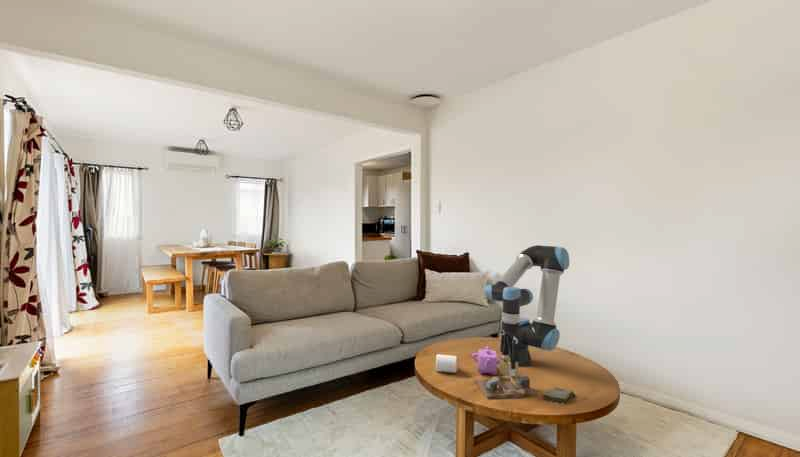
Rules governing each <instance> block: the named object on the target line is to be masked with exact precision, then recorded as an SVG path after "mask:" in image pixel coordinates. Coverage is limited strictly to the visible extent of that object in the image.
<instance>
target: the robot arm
mask: <svg viewBox="0 0 800 457" xmlns="http://www.w3.org/2000/svg"><path fill="white" fill-rule="evenodd" d="M533 267H540V271H541V273H542V276H541V284H540V289H539V290H540V292H539V298H538V305H537V311H536V317H535V318H534V319H532V322H530V318H527V317H520V315H521V314H520V310H521V308H520V307H523V306H527V305H529V304H531V303H532V302H533V301H534V300H533V299H534V295H533V292H532V291H531V290H530V289H529V288H519V287H515V285H516V284H517V283H518V281H520V279H521V278H522V277H523V275H524V274H525V273H526V272H527V270H531V269H532V268H533ZM569 267H570V256H569V251H568V250H567V248H565V247H562V246H557V245H556V246H553V245H552V246H551V245H538V244H537V245H533V246H530V247H528V248H526V249H523V250H522V251H521V252H520V253H519V254H518V255H517V256H516V258H515V261H514V262H513V263H512V265H510V267H509V268H507V270H506V271H505V272H504V273H503V274H502V276H500V278H499V279H498V280H497V281H496V282H495V284H492V283H491V284H490V283H489V284H486V286H485V287H484V296H485V298H486V299H488V300H491V301H496V302H500V303H502V312H501V320H502V321H501V331H500V350H499V351H500V352H501V356H502V358H509V357H510V360H509V376H511V377H516V376H515V365H516V362H518V367H525V366H529V365H531V364H532V356H531V353H530V350H529V346H530V347H533V348H537V349H541V350H543V351H549V352H551V351H553V350H555V348H556V347H557V346H558V344H559V341H560V335H561V334H560V330H559V329H558V328H557V324H556V322H555V317H556V316H555V314H556V308H557V301H558V293H559V287H560V286H559V284H560V279H561V276H562V275H563V274H564V272H565V271H566V270H569Z"/></svg>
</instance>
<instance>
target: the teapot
mask: <svg viewBox="0 0 800 457" xmlns="http://www.w3.org/2000/svg"><path fill="white" fill-rule="evenodd" d="M476 356H477V357H476ZM471 358H472V359H473V360H474V361H475V362H476V363H477V367H478V368H477V370H478V373H479V374H480V375H484V374H490V375H491V376H495V375H497V373H498V371H497V369H498V365H499V363H500V358H502V355H498V354H497V351H496V350H492V349H489V346H487V345H486V346H485V349H483V348H482V349H481V348H478V352H477V353H476V352H475V353H472V354H471ZM477 358H478V359H477ZM498 358H499V359H498Z"/></svg>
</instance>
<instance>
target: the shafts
mask: <svg viewBox="0 0 800 457" xmlns="http://www.w3.org/2000/svg"><path fill="white" fill-rule="evenodd" d="M530 378H531V377H529V376H528V375H527V376H516V379H517V382H518V383H519V384H520V385H521V386H522V387H523V388H529V387H530V388H531V386H530V385H531V384H530V382H531V381H530V380H531V379H530ZM487 380H488V381H486V389H487V390H489V391H491V392H494V391H497V385H499V384H500V379H498V378H494V379H492V378H491V379H487Z"/></svg>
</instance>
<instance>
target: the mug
mask: <svg viewBox="0 0 800 457" xmlns="http://www.w3.org/2000/svg"><path fill="white" fill-rule="evenodd" d="M457 364H458V356H456V355H449V354H448V355H447V354H439V353H437V354H436V359H435V371H436V372H441V373H442V372H443V373H450V374H451V373H452V374H456V373H457V368H458V366H457Z"/></svg>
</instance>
